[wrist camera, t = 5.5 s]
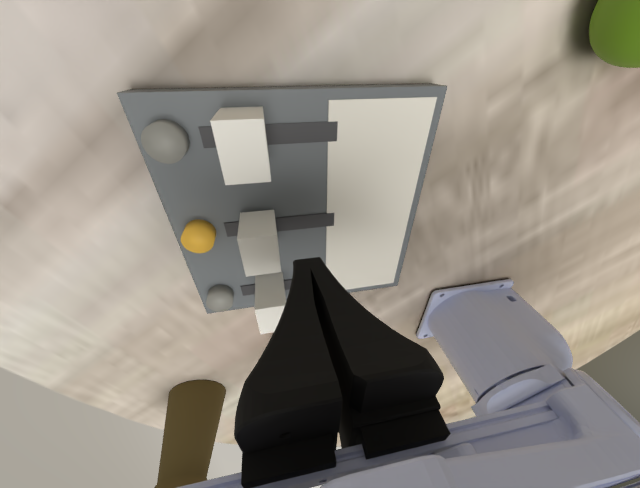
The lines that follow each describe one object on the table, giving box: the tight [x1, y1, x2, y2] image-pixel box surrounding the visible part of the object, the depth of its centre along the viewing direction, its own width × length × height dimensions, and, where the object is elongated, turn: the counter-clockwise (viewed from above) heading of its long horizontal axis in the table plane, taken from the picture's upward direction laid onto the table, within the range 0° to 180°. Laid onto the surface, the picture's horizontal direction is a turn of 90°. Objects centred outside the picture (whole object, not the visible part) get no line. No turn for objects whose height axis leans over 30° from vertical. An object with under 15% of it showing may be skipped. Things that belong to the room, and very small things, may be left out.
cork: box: [155, 380, 226, 488], centre depth 25 cm, size 6×6×11 cm
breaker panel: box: [117, 84, 447, 334], centre depth 16 cm, size 16×15×5 cm
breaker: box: [237, 210, 281, 277], centre depth 15 cm, size 2×3×3 cm
